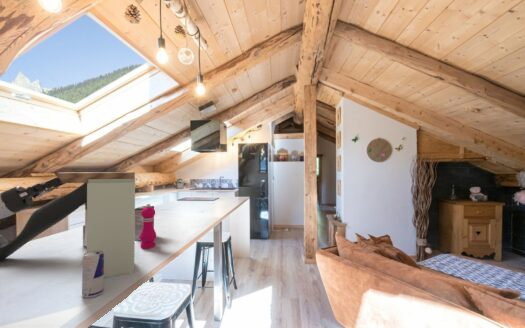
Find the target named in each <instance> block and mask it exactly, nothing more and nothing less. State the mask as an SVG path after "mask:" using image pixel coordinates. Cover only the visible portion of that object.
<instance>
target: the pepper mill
mask: <svg viewBox="0 0 525 328" xmlns="http://www.w3.org/2000/svg"><path fill="white" fill-rule="evenodd" d="M145 206H146V208H144V209H143V210H142V212H141V215H142V216H143V218H142V219H143V220H142V221H143V229H142V232H141V234H140V240H139V241H140V242H141V243H140V248H141V249H143V250H144V249H145V250H146V249H153V248H155V246H156V239H157V232H156V230H155V227H154V228H153V221H154V222H155V216H156V210H155V207H154V208H152V207H150V206H151V204H150V203H147V204H146V205H145ZM153 216H154V217H153Z"/></svg>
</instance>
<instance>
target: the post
mask: <svg viewBox="0 0 525 328" xmlns="http://www.w3.org/2000/svg"><path fill="white" fill-rule="evenodd" d="M135 209H136V181H135V182H134V179H88V183H87V247H86V253H87V252H91V251H103V253H104V278H106V277H113V276H119V275H124V274H125V275H126V274H133V273H134V271H135V270H134V269H135V255H136V253H135V250H136V249H135V247H136V246H135V241H136V240H135Z"/></svg>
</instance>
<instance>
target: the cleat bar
mask: <svg viewBox="0 0 525 328" xmlns="http://www.w3.org/2000/svg"><path fill="white" fill-rule="evenodd" d="M135 173H136V172H135V171H120V172H119V171H118V172H117V171H110V172H109V171H106V172H105V171H104V172H102V171H100V172H99V171H96V172H95V171H94V172H93V171H92V172H89V171H87V172H82V171H81V172H80V171H79V172H73V171H71V172H69V171H67V172H57V173H56V177H59V178H60V180H61V181H62V183H66V184H84V183H88V179H134V182H135V183H136V174H135Z"/></svg>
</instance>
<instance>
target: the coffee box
mask: <svg viewBox="0 0 525 328" xmlns="http://www.w3.org/2000/svg"><path fill="white" fill-rule="evenodd" d="M150 207H152V208H154V209H155V206H154V205H150ZM144 208H146V205H142V206H139V207H135V241H140V234H141V232H142V229H143V221H142V220H143V219H142V218H143V216H142V215H141V212H142V210H143V209H144ZM153 217H154V218H155V215H154V216H153ZM153 228H154V229H155V220H154V221H153Z"/></svg>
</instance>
